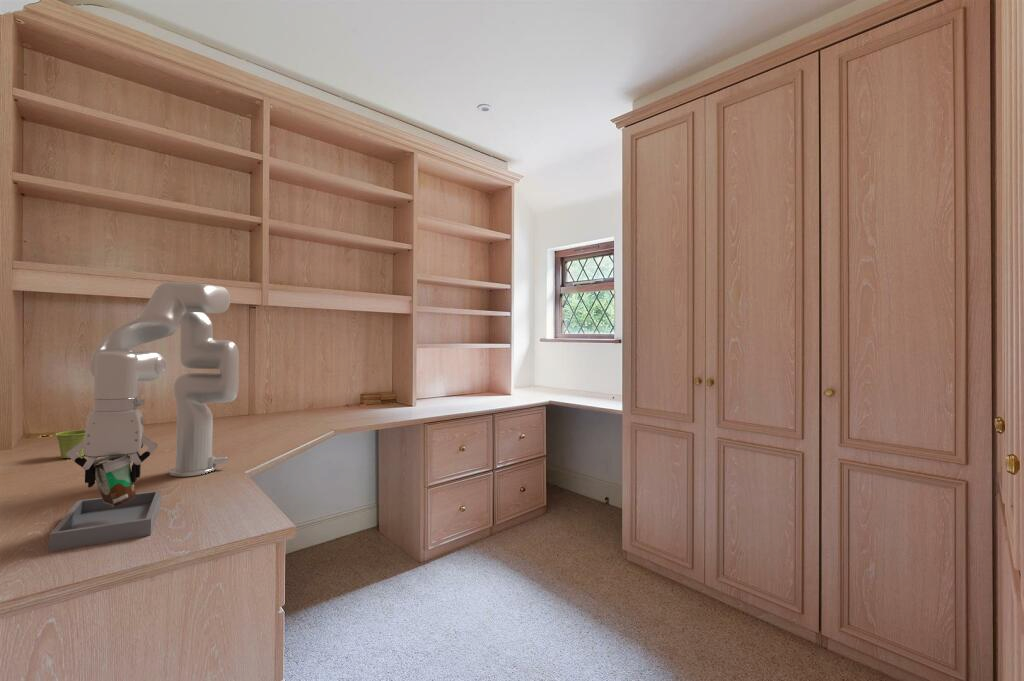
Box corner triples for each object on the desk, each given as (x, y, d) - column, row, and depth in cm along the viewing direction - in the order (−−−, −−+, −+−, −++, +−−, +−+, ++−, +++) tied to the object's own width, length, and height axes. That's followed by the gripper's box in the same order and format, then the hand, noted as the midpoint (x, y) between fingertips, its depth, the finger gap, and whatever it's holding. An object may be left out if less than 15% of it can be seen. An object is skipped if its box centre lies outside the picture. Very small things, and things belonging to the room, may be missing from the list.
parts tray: (160, 503, 119) (161, 490, 119) (150, 535, 100) (151, 519, 100) (77, 515, 110) (77, 500, 110) (49, 551, 92) (49, 534, 92)
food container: (149, 494, 106) (137, 453, 105) (116, 507, 101) (103, 464, 100) (133, 490, 113) (121, 451, 112) (101, 502, 108) (89, 461, 107)
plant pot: (51, 457, 159) (52, 432, 159) (87, 452, 167) (88, 428, 167) (58, 462, 154) (59, 436, 154) (95, 456, 162) (95, 432, 162)
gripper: (164, 401, 113) (162, 474, 113) (68, 405, 104) (66, 484, 104) (161, 405, 107) (159, 482, 107) (59, 410, 98) (56, 494, 97)
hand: (113, 482), depth 105 cm, fingers closed on food container, 6 cm apart
